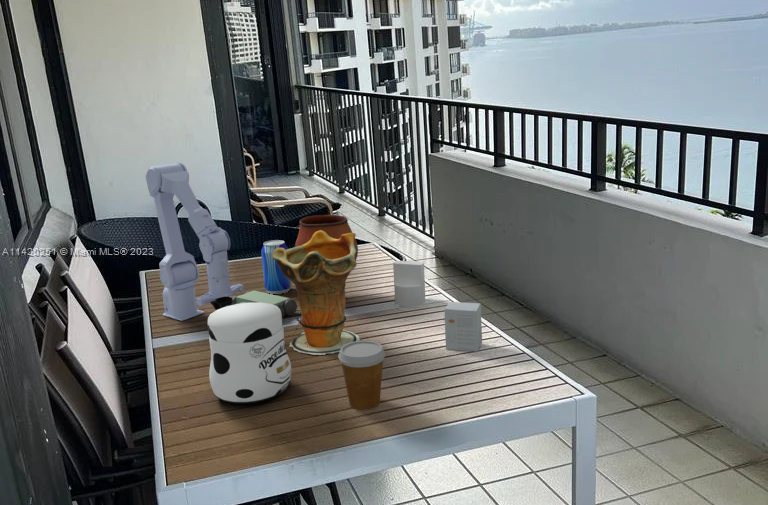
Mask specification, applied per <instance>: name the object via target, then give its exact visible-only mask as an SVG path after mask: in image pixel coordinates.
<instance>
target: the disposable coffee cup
mask: <svg viewBox="0 0 768 505" xmlns="http://www.w3.org/2000/svg"><path fill="white" fill-rule="evenodd" d="M385 356H386V351H385V349H384V347H383V345H382V344H381V343H379V342H377V341H372V340H359V341H355V342H351V343H348V344H345V345H344V346H342V347H341V349H340V352H338V355H337V357H338V359H339V362H340V363H341V368H342V373H343V377H344V382H345V387H346V393H347V398H348V402H349V407H351V408H353V409H355V410H359V411H362V410H363V411H364V410H365V411H366V410H372V409H375V408H376V407H378V406H379V405H380V403H381V393H382V392H381V391H382V378H383V367H384V366H383V365H384V359H385Z"/></svg>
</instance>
